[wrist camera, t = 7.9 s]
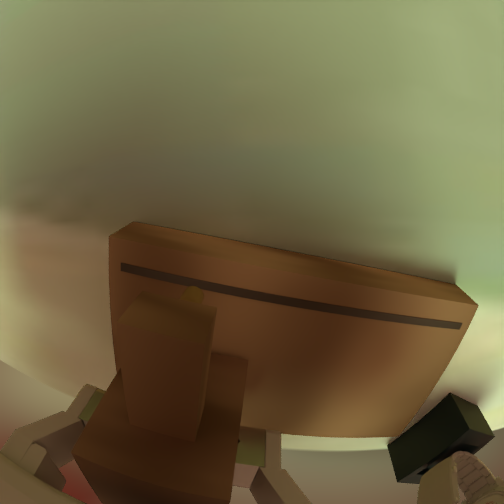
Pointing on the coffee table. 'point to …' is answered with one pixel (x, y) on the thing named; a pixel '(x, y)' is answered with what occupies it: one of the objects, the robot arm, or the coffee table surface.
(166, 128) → the coffee table surface
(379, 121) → the coffee table surface
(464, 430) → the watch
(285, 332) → the board
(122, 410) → the brown stepped block
